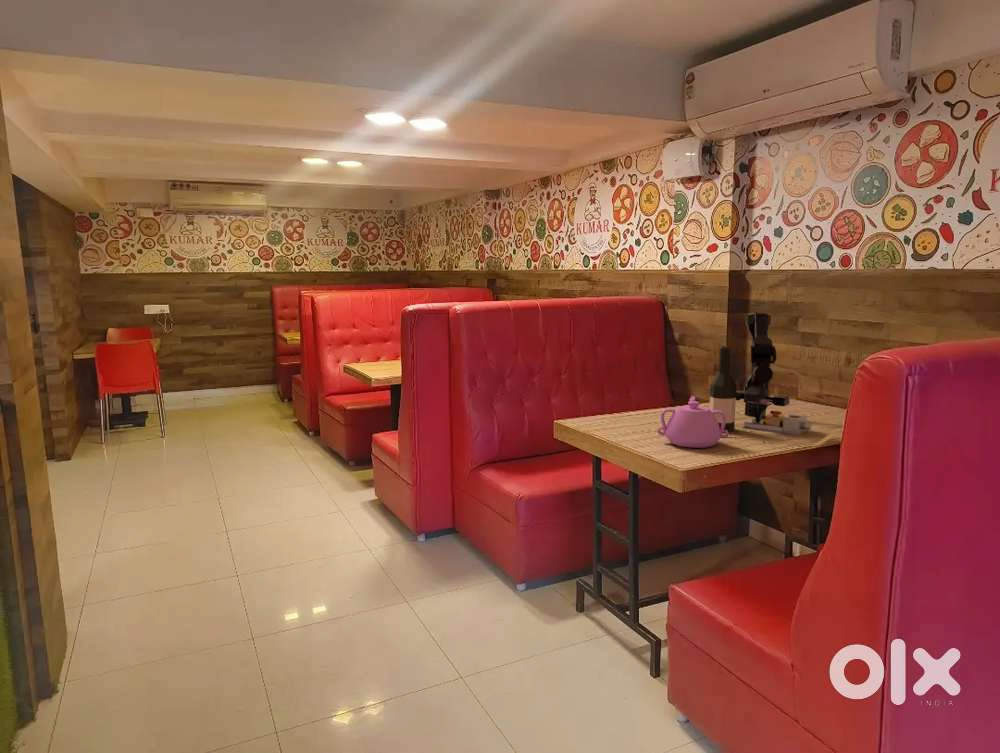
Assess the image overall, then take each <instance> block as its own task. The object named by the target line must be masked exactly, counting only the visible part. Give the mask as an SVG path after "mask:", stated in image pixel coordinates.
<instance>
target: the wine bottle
mask: <svg viewBox="0 0 1000 753" xmlns="http://www.w3.org/2000/svg"><path fill="white" fill-rule="evenodd" d="M718 354H719V356H718V373H717V374H716V376H715V377H714V379H713V380H712V381H711V383H710V392H709V409H710V410H711V411H714V410H720V411H722V412H724V413H725V415H726V418H727V419H726V424H725V427H724V430H727V431H728V432H729V433H733V432H735V422H736V402H737V400H736V391H737V384H736V382H735V381H734V379H733V377H732V375H731V373H730V362H731V348H730V346H729V345H721V346H720V347H719V353H718ZM714 416H715V418H716V420H717V422H718V424H719V427H720V428H721V425H722V422H723V416H722V415H721V414H714Z"/></svg>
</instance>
